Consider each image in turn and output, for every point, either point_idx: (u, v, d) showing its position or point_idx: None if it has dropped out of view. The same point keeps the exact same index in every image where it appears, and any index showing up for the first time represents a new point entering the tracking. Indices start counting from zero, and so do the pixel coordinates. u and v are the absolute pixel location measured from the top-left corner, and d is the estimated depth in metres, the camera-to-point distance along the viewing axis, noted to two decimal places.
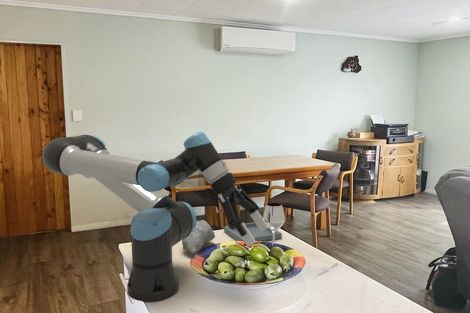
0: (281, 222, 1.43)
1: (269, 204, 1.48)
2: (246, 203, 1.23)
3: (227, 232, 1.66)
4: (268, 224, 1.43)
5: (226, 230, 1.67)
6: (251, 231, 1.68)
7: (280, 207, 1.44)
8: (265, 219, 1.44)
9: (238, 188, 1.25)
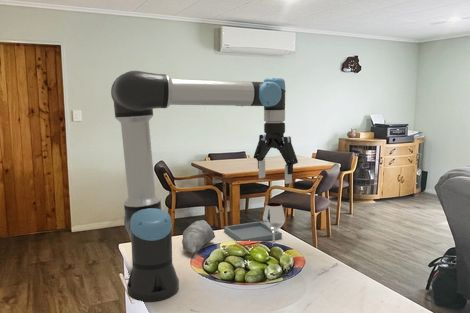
0: (281, 222, 1.43)
1: (269, 204, 1.48)
2: (267, 151, 1.46)
3: (227, 232, 1.66)
4: (268, 224, 1.43)
5: (226, 230, 1.67)
6: (251, 231, 1.68)
7: (280, 207, 1.44)
8: (265, 219, 1.44)
9: None
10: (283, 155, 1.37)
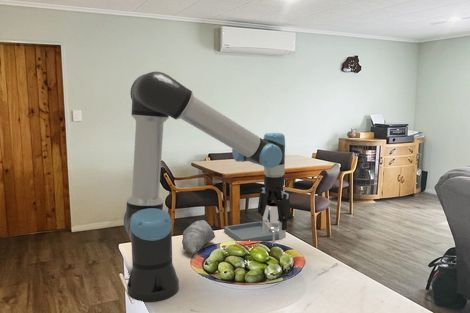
0: None
1: (269, 204, 1.48)
2: None
3: (227, 232, 1.66)
4: (268, 224, 1.43)
5: (226, 230, 1.67)
6: (251, 231, 1.68)
7: None
8: (265, 219, 1.44)
9: None
10: (279, 211, 1.42)
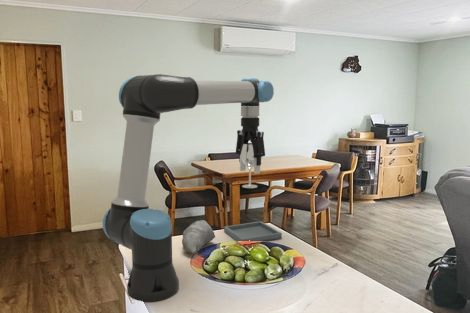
0: None
1: None
2: None
3: (227, 232, 1.66)
4: (244, 160, 1.60)
5: (226, 230, 1.67)
6: (251, 231, 1.68)
7: None
8: (242, 156, 1.60)
9: None
10: (254, 148, 1.58)
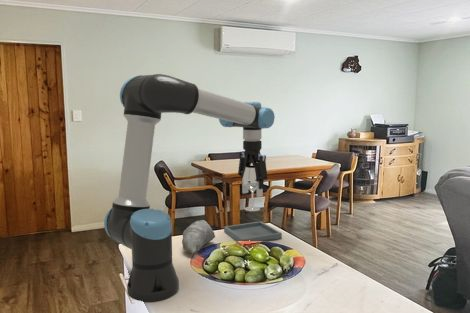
0: None
1: (248, 167, 1.64)
2: None
3: (227, 232, 1.66)
4: (247, 184, 1.59)
5: (226, 230, 1.67)
6: (251, 231, 1.68)
7: None
8: (244, 179, 1.60)
9: None
10: (256, 171, 1.58)
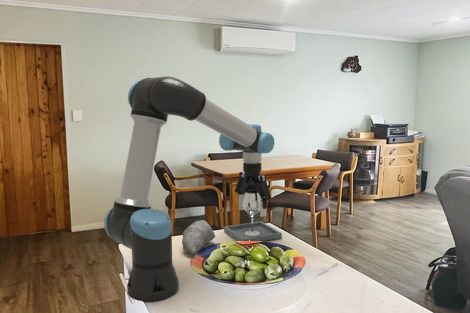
0: (258, 207, 1.60)
1: (248, 192, 1.65)
2: (246, 186, 1.66)
3: (227, 232, 1.66)
4: (247, 209, 1.60)
5: (226, 230, 1.67)
6: None
7: (257, 194, 1.61)
8: (244, 205, 1.61)
9: None
10: (259, 192, 1.58)
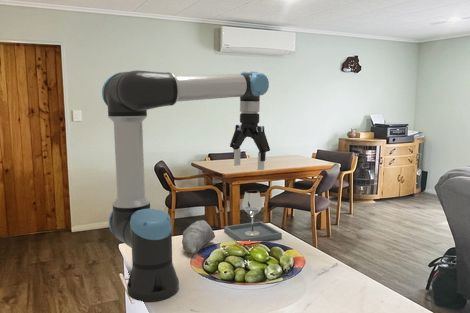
0: (258, 207, 1.60)
1: (248, 192, 1.65)
2: (243, 140, 1.56)
3: (227, 232, 1.66)
4: (247, 209, 1.61)
5: (226, 230, 1.67)
6: None
7: (257, 194, 1.61)
8: (244, 205, 1.61)
9: None
10: (256, 143, 1.47)
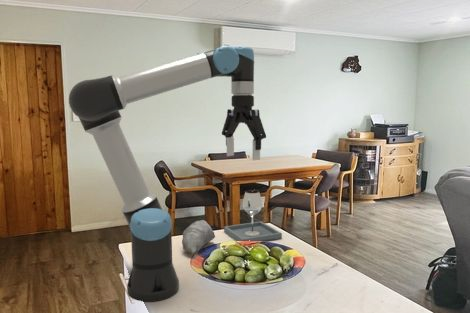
0: (258, 207, 1.60)
1: (248, 192, 1.65)
2: (236, 127, 1.37)
3: (227, 232, 1.66)
4: (247, 209, 1.61)
5: (226, 230, 1.67)
6: None
7: (257, 194, 1.61)
8: (244, 205, 1.61)
9: None
10: (251, 129, 1.28)
